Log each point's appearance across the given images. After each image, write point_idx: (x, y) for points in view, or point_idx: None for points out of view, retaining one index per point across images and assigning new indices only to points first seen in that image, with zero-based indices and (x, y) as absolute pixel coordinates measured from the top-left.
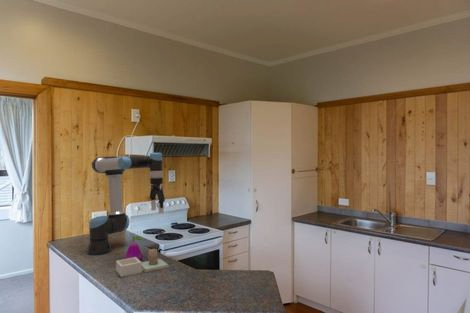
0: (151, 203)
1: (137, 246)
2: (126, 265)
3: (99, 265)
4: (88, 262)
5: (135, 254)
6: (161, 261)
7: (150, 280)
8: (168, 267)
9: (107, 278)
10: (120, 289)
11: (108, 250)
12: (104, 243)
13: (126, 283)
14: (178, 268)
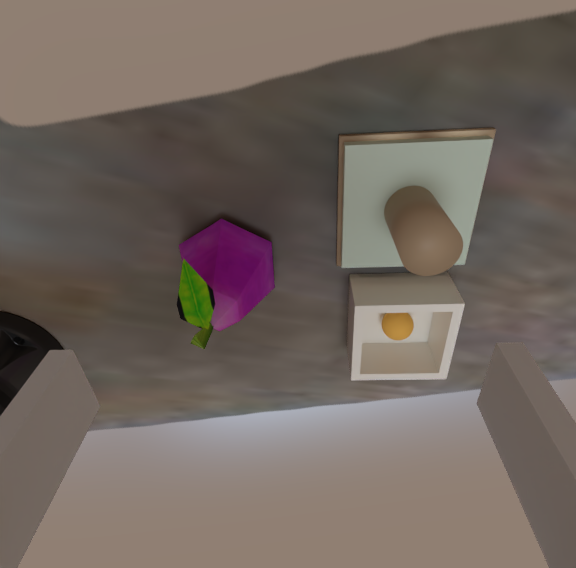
0: (23, 547)
1: (230, 286)
2: (449, 359)
3: (227, 377)
4: (164, 398)
5: (261, 279)
6: (407, 156)
7: (569, 264)
8: (493, 134)
9: None
10: (546, 364)
11: (35, 334)
12: (17, 377)
13: (510, 340)
14: (554, 78)
